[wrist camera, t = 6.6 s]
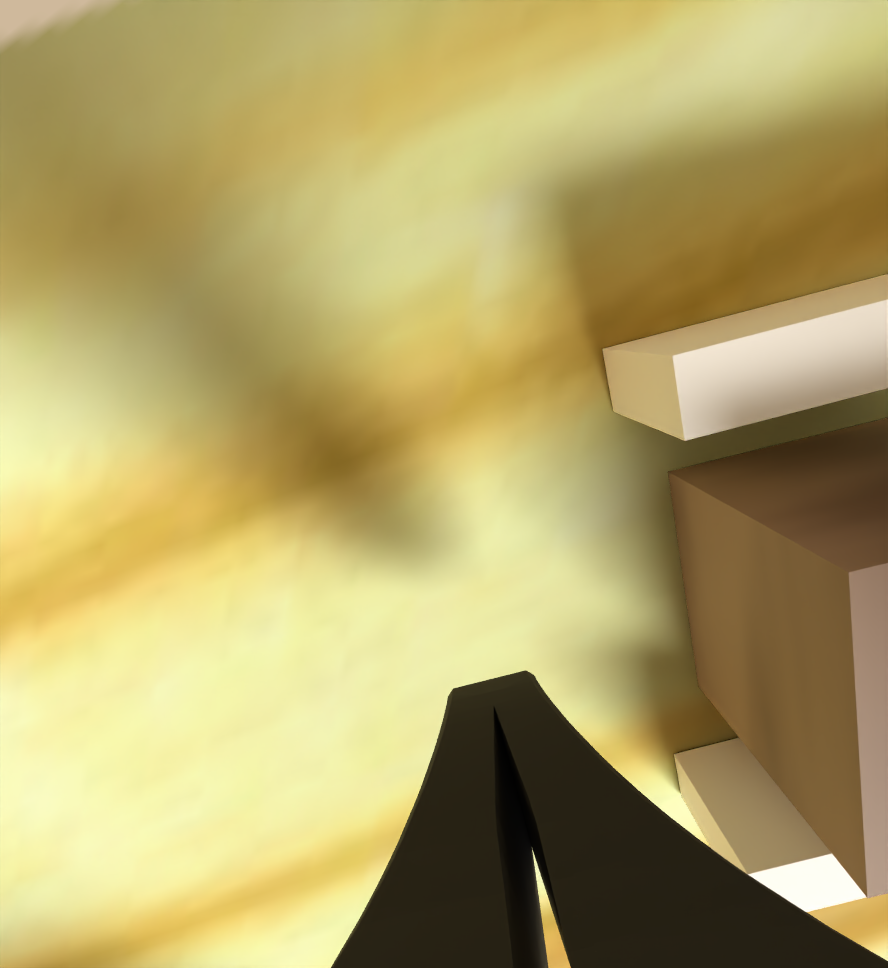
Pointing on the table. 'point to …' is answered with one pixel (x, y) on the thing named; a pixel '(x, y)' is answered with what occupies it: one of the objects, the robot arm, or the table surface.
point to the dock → (726, 405)
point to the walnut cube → (799, 623)
